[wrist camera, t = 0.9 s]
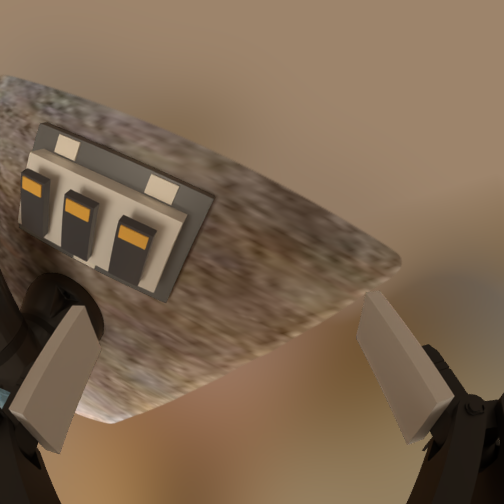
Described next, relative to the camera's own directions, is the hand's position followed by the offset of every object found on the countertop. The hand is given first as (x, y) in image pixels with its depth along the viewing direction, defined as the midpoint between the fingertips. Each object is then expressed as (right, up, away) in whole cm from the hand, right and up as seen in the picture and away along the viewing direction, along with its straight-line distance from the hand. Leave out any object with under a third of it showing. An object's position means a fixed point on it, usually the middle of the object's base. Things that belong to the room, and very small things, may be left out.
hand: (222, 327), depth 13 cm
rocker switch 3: (-12, +3, +17) cm, 21 cm away
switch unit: (-18, +9, +21) cm, 30 cm away
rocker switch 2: (-18, +6, +16) cm, 25 cm away
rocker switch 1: (-24, +9, +14) cm, 29 cm away
